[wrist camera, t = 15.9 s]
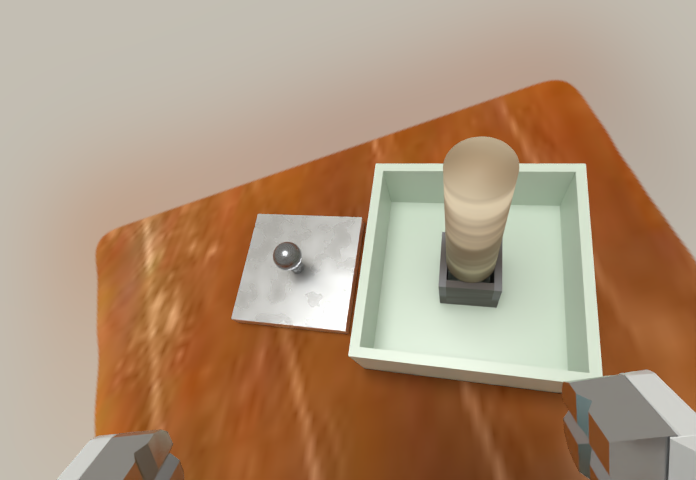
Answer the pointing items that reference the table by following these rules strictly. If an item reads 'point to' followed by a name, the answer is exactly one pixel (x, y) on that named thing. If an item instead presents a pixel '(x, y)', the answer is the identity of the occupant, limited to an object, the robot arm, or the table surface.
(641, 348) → the table surface
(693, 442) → the robot arm
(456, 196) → the strut
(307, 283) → the stud plate
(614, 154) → the table surface
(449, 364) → the bin
